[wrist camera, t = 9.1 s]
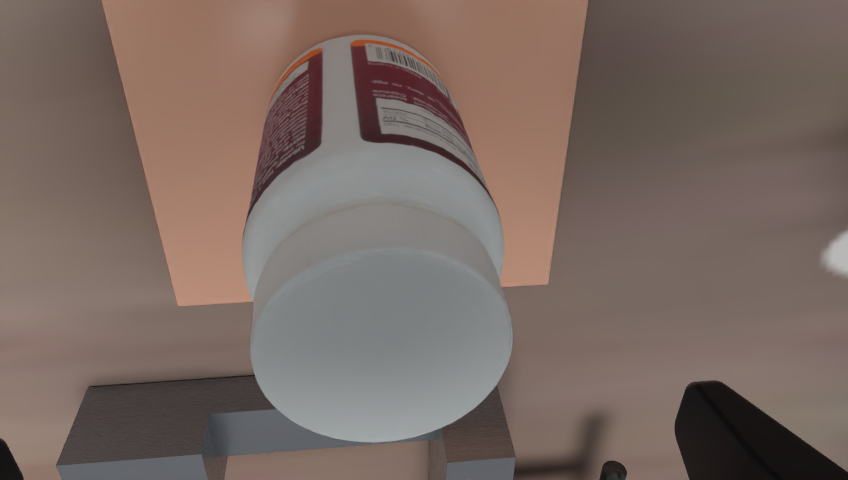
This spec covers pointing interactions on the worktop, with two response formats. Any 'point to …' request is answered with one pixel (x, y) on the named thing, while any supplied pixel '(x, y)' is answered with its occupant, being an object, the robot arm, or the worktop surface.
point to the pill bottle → (372, 248)
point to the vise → (249, 434)
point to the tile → (268, 59)
